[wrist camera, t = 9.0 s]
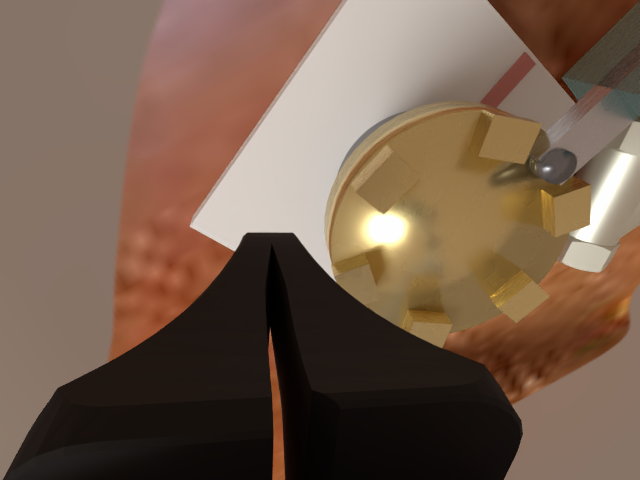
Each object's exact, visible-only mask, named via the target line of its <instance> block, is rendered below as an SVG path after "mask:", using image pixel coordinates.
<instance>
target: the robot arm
mask: <svg viewBox="0 0 640 480" xmlns="http://www.w3.org/2000/svg"><path fill="white" fill-rule="evenodd" d="M270 329H271V336H272V343H273V350H274V357H275V363H276V370H277V377H278V383H279V390H280V397H281V407H282V420H283V441H284V463H285V480H504V478H505V476H506V474H507V472H508V470H509V468H510V466H511V463H512V462H513V460H514V457H515V455H516V453H517V451H518V448H519V445H520V440H521V438H522V435H523V432H522V423H521V419H520V418H519V416H518V415H517V413H516V412H515V410H514V408H513V407H512V405H511V403H510V402H509V400H508V398H507V397H506V395H505V394H504V392H503V390H502V389H501V387H500V386H499V384H498V383H497V381H496V380H495V379H494V377H493V376H492V375H491V373H490V372H489V371H488V369H487V368H486V367H485V365H483V364H481V363H478V362H476V361H473V360H470V359H468V358H465V357H463V356H460V355H458V354H455V353H453V352H450V351H448V350H445V349H443V348H440V347H438V346H436V345H433V344H431V343H429V342H427V341H425V340H423V339H421V338H419V337H417V336H415V335H413V334H411V333H409V332H407V331H405V330H403V329H402V328H400V327H398V326H396V325H394V324H393V323H391V322H390V321H388V320H386V319H385V318H383V317H381V316H380V315H378V314H376V313H375V312H374V311H372V310H371V309H369V308H368V307H366V306H365V305H364V304H362V303H361V302H360V301H358V300H357V299H356V298H354V297H353V296H352V295H350V294H349V293H348V292H347V291H345V290H344V289H343V288H342V287H341V286H340V285H339V284H338V283H337V282H335V281H334V280H333V279H332V278H331V277H330V276H329V275H328V274H327V273H326V271H325V270H324V269H323V268H322V267H321V266H320V265H319V264H318V263H317V262H316V260H315V259H314V258H313V257H312V256H311V254H310V253H309V252H308V251H307V249H306V248H305V247H304V246H303V244H302V243H301V242H300V240H299V239H298V237H297V236H296V235H295V234H294V233H279V232H247V233H246V234H245V235H244V236H243V237H242V240H241V242H240V244H239V246H238V247H237V249H236V251H235V252H234V254H233V256H232V257H231V259H230V260H229V261H228V263H227V264H226V266H225V267H224V268H223V270H222V271H221V272H220V274H219V275H218V276H217V277H216V278H215V280H214V281H213V282H212V283H211V284H210V285H209V287H208V288H207V289H206V290H205V291H204V292H203V293H202V294H201V295H200V296H199V297H198V298H197V299H196V300H195V301H194V302H193V303H192V304H191V305H190V306H189V307H188V308H187V309H186V310H185V311H184V312H183V313H181V314H180V315H179V316H178V317H176V318H175V319H174V320H173V321H171V322H170V323H169V324H168V325H166V326H165V327H164V328H162V329H161V330H160V331H158V332H157V333H156V334H154V335H153V336H151V337H150V338H148V339H147V340H145V341H144V342H142V343H141V344H139V345H137V346H136V347H134V348H132V349H131V350H129V351H127V352H126V353H124V354H123V355H121V356H119V357H117V358H116V359H114V360H112V361H110V362H109V363H107V364H105V365H103V366H101V367H99V368H97V369H95V370H93V371H91V372H89V373H87V374H85V375H83V376H81V377H79V378H77V379H75V380H74V381H71V382H69V383H67V384H65V385H63V386H61V387H59V388H58V389H57V390H56V391H55V393H54V395H53V396H52V398H51V399H50V401H49V402H48V403H47V405H46V406H45V408H44V409H43V410H42V412H41V413H40V415H39V416H38V418H37V419H36V421H35V423H34V424H33V426H32V427H31V429H30V431H29V432H28V434H27V436H26V438H25V440H24V442H23V443H22V445H21V447H20V449H19V451H18V453H17V454H16V456H15V458H14V460H13V462H12V464H11V466H10V467H9V469H8V471H7V473H6V475H5V477H4V479H3V480H272V469H273V409H272V391H271V380H270V368H269V355H268V346H269V333H270Z"/></svg>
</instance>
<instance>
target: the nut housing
mask: <svg viewBox="0 0 640 480" xmlns="http://www.w3.org/2000/svg"><path fill="white" fill-rule="evenodd" d="M443 101H471V102H479V103H482V104H486V105H489V106H493V107H495V108H498V109H500V110H503V111H505V112H508V113H510V114H512V115H515V116H519V117H524V118H529V119H531V120H534V121H536V122H539V123H541V124H542V126H541V129H542V130H544V131H545V132H546V131H547V130H548V129H549V128H550V127H551V126H553V125H554V124H555V123H556V122H557V121H558V120H559V119H560V118H561V117H562V116H563V115H564V114H565V113H566V112H567V111H568V110H569V109H570V108H572V107H573V106H574V105H575V104H576V103H575V102H574V101H573V100H572V99H571V98H570V96H569V95H568V94H567V93H566V92H565V91H564V89H563V88H562V87H561V86H560V85H559V84H558V82H557V81H556V80H555V79H554V78H553V77H552V75H551V74H550V73H549V72H548V71H547V70H546V68H545V67H544V66H543V65H542V64H541V63H540V61H539V60H538V59H537V58H536V57H535V55H534V54H533V53H532V52H531V51H530V50H529V48H528V47H527V46H526V45H525V44H524V43H523V41H522V40H521V39H520V38H519V37H518V36H517V34H516V33H515V32H514V31H513V30H512V29H511V27H510V26H509V25H508V24H507V23H506V22H505V20H504V19H503V18H502V17H501V16H500V15H499V13H498V12H497V11H496V10H495V9H494V8H493V6H492V5H491V4H490V3H489V2H488V0H343V1H342V2H341V3H340V5H339V6H338V8H337V9H336V11H335V12H334V13H333V15H332V16H331V18H330V19H329V21H328V22H327V24H326V25H325V26H324V28H323V29H322V31H321V32H320V34H319V35H318V37H317V38H316V39H315V41H314V42H313V44H312V45H311V47H310V48H309V50H308V51H307V52H306V54H305V55H304V57H303V58H302V60H301V61H300V62H299V64H298V65H297V67H296V68H295V70H294V71H293V73H292V74H291V75H290V77H289V78H288V80H287V81H286V83H285V84H284V86H283V87H282V88H281V90H280V91H279V93H278V94H277V96H276V97H275V99H274V100H273V101H272V103H271V104H270V106H269V107H268V109H267V110H266V112H265V113H264V114H263V116H262V117H261V119H260V120H259V122H258V123H257V124H256V126H255V127H254V129H253V130H252V132H251V133H250V135H249V136H248V137H247V139H246V140H245V142H244V143H243V145H242V146H241V148H240V149H239V150H238V152H237V153H236V155H235V156H234V158H233V159H232V161H231V162H230V163H229V165H228V166H227V168H226V169H225V171H224V172H223V173H222V175H221V176H220V178H219V179H218V181H217V182H216V184H215V185H214V186H213V188H212V189H211V191H210V192H209V194H208V195H207V197H206V198H205V199H204V201H203V202H202V204H201V205H200V207H199V208H198V210H197V211H196V212H195V214H194V215H193V218H192V221H191V224H190V227H192V228H194V229H195V230H197V231H199V232H201V233H203V234H204V235H206V236H208V237H210V238H212V239H213V240H215V241H217V242H219V243H221V244H222V245H224V246H226V247H228V248H230V249H232V250H233V251H236V249H237V247H238V246H239V244H240V242H241V240H242V237H243V236H244V235H245V234H246V233H247V232H279V233H294V234H295V235H296V236H297V237H298V239H299V240H300V242H301V243H302V244H303V246H304V247H305V248H306V249H307V251H308V252H309V253H310V254H311V256H312V257H313V258H314V259H315V260H316V262H317V263H318V264H319V265H320V266H321V267H322V268H323V269H324V270H325V271H326V273H327V274H328V275H329V276H330V277H331V278H332V279H333V280H334V281H335V282H336V280H335V278H334V275H333V271H332V268H331V265H332V263H331V259H330V256H329V253H328V249H327V246H326V240H325V233H324V217H325V211H326V204H327V201H328V197H329V194H330V190H331V188H332V186H333V183H334V181H335V179H336V177H337V175H338V173H339V171H340V170H341V168H342V166H343V165H344V163H345V161H346V160H347V159H348V158H349V156H350V155H351V154H352V153H353V151H354V150H355V149H356V148H357V147H358V146H359V145H360V144H361V143H362V142H363V141H364V140H365V139H366V138H367V137H368V136H369V135H370V134H371V133H373V132H374V131H375V130H376V129H378V128H379V127H380V126H382V125H383V124H385V123H386V122H388V121H390V120H391V119H393V118H395V117H396V116H398V115H400V114H403V113H405V112H407V111H409V110H412V109H414V108H417V107H421V106H424V105H427V104H431V103H437V102H443Z"/></svg>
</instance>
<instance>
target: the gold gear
mask: <svg viewBox="0 0 640 480" xmlns="http://www.w3.org/2000/svg"><path fill="white" fill-rule="evenodd" d="M561 78H562V79H563V80H564V82H565V83H566V85H567V86H568V87H569V89H570V90H571V92H572V93H573V94H574V96H575V97H576V99H577V100H578V102H577V103H576V104H575V105H574V106H573V107H572V108H570V109H569V110H568V111H567V112H566V113H565V114H564V115H563V116H562V117H561V118H560V119H559V120H558V121H557V122H556V123H555V124H554V125H553V126H551V127H550V128H549V129H548V130H547V131H546V132H545V131H544V130H542V129H541V126H542V124H541V123H539V122H536V121H534V120H531V119H529V118H524V117H519V116H515V115H512V114H510V113H508V112H505V111H503V110H500V109H498V108H495V107H493V106H489V105H486V104H482V103H479V102H471V101H443V102H437V103H431V104H427V105H424V106H421V107H417V108H414V109H412V110H409V111H407V112H405V113H403V114H400V115H398V116H396V117H395V118H393V119H391V120H390V121H388V122H386V123H385V124H383V125H382V126H380V127H379V128H378V129H376V130H375V131H374V132H373V133H371V134H370V135H369V136H368V137H367V138H366V139H365V140H364V141H363V142H362V143H361V144H360V145H359V146H358V147H357V148H356V149H355V150H354V151H353V153H352V154H351V155H350V156H349V158H348V159H347V160H346V161H345V163H344V165H343V166H342V168H341V170H340V171H339V173H338V175H337V177H336V179H335V181H334V183H333V186H332V188H331V190H330V194H329V197H328V201H327V204H326V211H325V217H324V233H325V240H326V246H327V249H328V253H329V256H330V259H331V263H332V265H331V268H332V271H333V275H334V278H335V280H336V282H337V283H338V284H339V285H340V286H341V287H342V288H343V289H344V290H345V291H347V292H348V293H349V294H350V295H352V296H353V297H354V298H356V299H357V300H358V301H360V302H361V303H362V304H364V305H365V306H366V307H368V308H369V309H371V310H372V311H374V312H375V313H376V314H378V315H380V316H381V317H383V318H385V319H386V320H388V321H390V322H391V323H393V324H394V325H396V326H398V327H400V328H402V329H403V330H405V331H407V332H409V333H411V334H413V335H415V336H417V337H419V338H421V339H423V340H425V341H427V342H429V343H431V344H433V345H436V346H438V347H440V348H442V347H443V345H444V343H445V341H446V338H447V336H448V334H449V333H452V332H458V331H461V330H464V329H468V328H471V327H474V326H476V325H479V324H481V323H484V322H486V321H488V320H490V319H492V318H494V317H496V316H498V315H500V314H501V313H504V314H506V315H507V316H508V317H509V318H511V319H512V320H513V321H514V322H515V323H517V322H519V321H520V320H521V319H522V318H524V317H525V316H526V315H527V314H529V313H530V312H531V311H532V310H534V309H535V308H536V307H537V306H539V305H540V304H541V303H542V302H544V301H545V300H546V299H547V298H549V297H550V296H549V295H548V294H547V293H546V292H545V291H544V290H543V289H542V288H541V287H540V286H539V285H538V284H539V283H540V281H541V280H542V279H543V278H544V277H545V276H546V274H547V273H548V272H549V271H550V269H551V268H552V267H553V265H554V264H555V262H556V260H557V259H558V257H559V256H560V254H561V252H562V250H563V248H564V246H565V244H566V242H567V240H568V237H569V234H570V232H572V231H575V230H578V229H581V228H584V227H587V226H589V225H590V216H591V184H589V183H587V182H585V181H583V180H581V179H579V178H577V177H575V178H574V174H575V173H576V172H577V171H578V170H579V169H580V168H581V167H583V166H584V165H585V164H586V163H587V162H588V161H589V160H590V159H592V158H593V157H594V156H595V155H596V154H597V153H598V152H599V151H601V150H602V149H603V148H604V147H605V146H606V145H607V144H608V143H610V142H611V141H612V140H613V139H614V138H615V137H616V136H617V135H619V134H620V133H621V132H622V131H623V130H624V129H625V128H626V127H628V126H629V125H630V124H631V123H632V122H633V121H636V122H640V1H639V2H638V3H637V4H636V5H635V6H634V7H633V8H632V9H631V10H629V11H628V12H627V13H626V14H625V15H624V16H623V17H622V18H621V19H620V20H619V21H618V22H617V23H616V24H615V25H614V26H613V27H612V28H611V29H610V30H609V31H608V32H607V33H606V34H605V35H604V36H603V37H602V38H601V39H600V40H599V41H598V42H597V43H596V44H595V45H594V46H593V47H592V48H591V49H590V50H589V51H588V52H587V53H586V54H585V55H584V56H583V57H582V58H581V59H580V60H579V61H578V62H577V63H575V64H574V65H573V66H572V67H571V68H570V69H569V70H568V71H567V72H566V73H565V74H564V75H563V76H562V77H561Z"/></svg>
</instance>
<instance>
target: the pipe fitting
mask: <svg viewBox="0 0 640 480" xmlns="http://www.w3.org/2000/svg"><path fill="white" fill-rule="evenodd" d="M575 177H577V178H579V179H581V180H583V181H585V182H587V183H589V184H591V216H590V225H589V226H587V227H584V228H581V229H578V230H575V231H572V232H570V234H569V237H568V240H567V242H566V244H565V246H564V248H563V250H562V252H561V254H560V256H559V257H558V259H557V261H559V262H561V263H563V264H565V265H567V266H570V267H573V268H576V269H579V270H584V271H589V272H601V271H603V270H604V269H605V268H606V266H607V265H608V264H609V263H610V261H611V259H612V258H613V256H614V254H615V252H616V251H617V249H618V247H619V245H620V244H621V243H620V242H619V240H620V238H621V237H622V236H624V235H625V234H627V233H628V232H630V231H631V230H633V229H634V228H636V227H637V226H639V225H640V122H636V121H633V122H632V123H631V124H630V125H629V126H628V127H626V128H625V129H624V130H623V131H622V132H621V133H620V134H619V135H617V136H616V137H615V138H614V139H613V140H612V141H611V142H610V143H608V144H607V145H606V146H605V147H604V148H603V149H602V150H601V151H599V152H598V153H597V154H596V155H595V156H594V157H593V158H592V159H590V160H589V161H588V162H587V163H586V164H585V165H584V166H583V167H581V168H580V169H579V170H578V171H577V173H576V175H575ZM575 177H574V178H575Z"/></svg>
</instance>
